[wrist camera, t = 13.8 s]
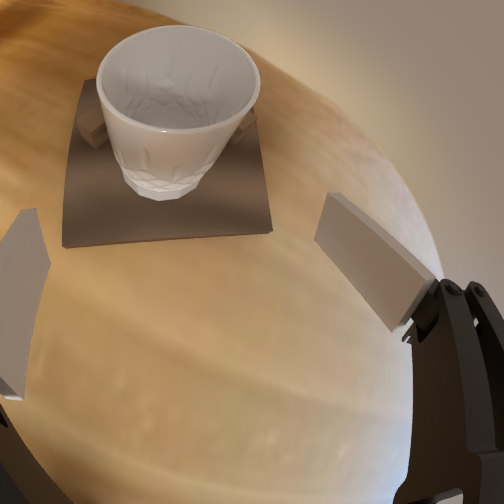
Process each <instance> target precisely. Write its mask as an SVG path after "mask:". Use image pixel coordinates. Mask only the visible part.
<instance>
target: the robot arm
mask: <svg viewBox="0 0 504 504" xmlns="http://www.w3.org/2000/svg"><path fill="white" fill-rule="evenodd" d="M314 240H315V242H316V243H317V244H318V245H319V246H320V247H321V248H322V250H323V251H324V252H325V253H326V254H327V255H328V256H329V258H330V259H331V260H332V261H333V262H334V263H335V264H336V266H337V267H338V268H339V269H340V270H341V271H342V273H343V274H344V275H345V276H346V277H347V278H348V280H349V281H350V282H351V283H352V284H353V286H354V287H355V288H356V289H357V290H358V292H359V293H360V294H361V295H362V296H363V298H364V299H365V300H366V301H367V303H368V304H369V305H370V306H371V308H372V309H373V310H374V311H375V312H376V314H377V315H378V316H379V317H380V319H381V320H382V321H383V323H384V324H385V325H386V326H387V328H388V329H389V330H390V331H391V333H393V332H395V331H397V330H400V329H402V328H403V327H404V326H405V324H406V323H407V322H408V320H409V319H410V317H411V318H412V320H413V321H414V322H413V324H412V325H411V326H410V328H409V329H408V330H407V332H406V333H405V334H404V336H403V337H402V342H404V341H405V339H406V338H407V337H408V336H411V337H410V338H409V339H408V341H407V343H409V344H411V345H412V363H413V420H412V436H411V448H410V457H409V466H408V473H407V477H406V479H405V481H404V482H403V483H402V485H401V486H400V487H399V488H398V490H397V492H396V493H395V496H394V500H393V504H436V503H437V502H439V501H441V500H444V499H447V498H450V497H453V496H456V495H459V494H462V493H463V504H504V320H503V318H502V316H501V314H500V313H499V311H498V309H497V307H496V306H495V304H494V302H493V301H492V299H491V297H490V296H489V294H488V293H487V291H486V290H485V288H484V287H483V286H482V285H481V284H479V283H476V282H473V281H472V282H470V283H469V285H468V286H467V288H466V289H465V290H462V289H461V288H460V287H459V286H458V285H457V284H455V283H454V282H452V281H451V280H448V279H442V280H441V281H440V282H439V281H438V280H437V279H436V277H435V276H434V275H433V274H432V273H431V272H430V271H429V270H428V269H427V268H426V267H425V266H424V265H423V264H422V263H421V262H420V261H419V260H418V259H417V258H416V257H415V256H414V255H413V254H411V253H410V252H409V251H408V250H407V249H406V248H405V247H404V246H403V245H402V244H400V243H399V242H398V241H397V240H396V239H395V238H394V237H393V236H391V235H390V234H389V233H388V232H387V231H386V230H384V229H383V228H382V227H381V226H380V225H379V224H377V223H376V222H375V221H374V220H373V219H371V218H370V217H369V216H368V215H367V214H365V213H364V212H363V211H362V210H360V209H359V208H358V207H357V206H355V205H354V204H353V203H352V202H350V201H349V200H348V199H347V198H345V197H344V196H343V195H341V194H340V193H327V196H326V200H325V203H324V207H323V210H322V214H321V217H320V221H319V224H318V227H317V231H316V234H315V237H314ZM50 264H51V262H50V259H49V256H48V252H47V249H46V246H45V242H44V239H43V235H42V231H41V228H40V224H39V219H38V215H37V211H36V208H33V209H26V210H21V212H20V213H19V214H18V216H17V217H16V219H15V220H14V222H13V224H12V225H11V227H10V228H9V230H8V231H7V233H6V235H5V236H4V238H3V240H2V241H1V243H0V393H1V394H2V395H3V396H4V397H5V398H6V399H13V400H24V391H25V380H26V371H27V363H28V356H29V349H30V343H31V338H32V333H33V328H34V323H35V318H36V314H37V310H38V306H39V302H40V298H41V294H42V290H43V287H44V283H45V280H46V277H47V274H48V270H49V267H50ZM475 318H477V320H478V322H479V323H478V324H477V326H476V327H475V326H474V322H473V321H474V319H475ZM0 504H74V503H73V502H72V501H71V500H70V499H69V498H68V497H67V496H66V495H65V494H64V493H63V492H62V491H61V490H60V488H59V487H58V486H57V485H56V484H55V483H54V482H53V480H52V479H51V478H50V477H49V476H48V474H47V473H46V472H45V471H44V469H43V468H42V467H41V466H40V464H39V463H38V462H37V460H36V459H35V458H34V456H33V455H32V454H31V452H30V451H29V449H28V448H27V446H26V445H25V443H24V442H23V441H22V439H21V437H20V436H19V434H18V433H17V431H16V430H15V428H14V426H13V425H12V423H11V421H10V420H9V418H8V416H7V414H6V413H5V411H4V409H3V407H2V405H1V404H0Z"/></svg>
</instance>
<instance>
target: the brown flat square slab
mask: <svg viewBox="0 0 504 504" xmlns="http://www.w3.org/2000/svg"><path fill="white" fill-rule="evenodd" d="M256 119H257V117H256V116H255V115H254V110H253V106H252V108H251V109H250V110H249V112H248V113H247V115H246V116H245V118H244V119H243V120H242V122H241V123H240V125H239V126H238V128H237V129H236V131H235V132H234V134H233V135H232V137H231V138H230V140H229V141H228V143H227V144H226V146H225V147H224V149H223V150H222V152H221V154H220V155H219V157H218V158H217V159H216V161H215V162H214V163H213V165H212V167H211V168H210V169H209V170H208V171H207V172H206V173H205V175H204V176H203V178H202V179H201V181H200V182H199V184H198V185H197V187H196V188H195V189H194V190H192V191H190V192H189V193H187V194H185V195H184V196H182V197H180V198H179V199H171V200H163V201H156V200H153V199H150V198H147V197H143V196H140V195H138V194H137V193H136V192H135V191H134V190H133V189H132V188H131V187H130V186H129V185H128V184H127V183H126V182H125V180H124V176H123V173H122V170H121V167H120V165H119V164H118V162H117V160H116V157H115V154H114V152H113V149H112V145H111V142H110V140H109V137H108V132H107V128H106V124H105V120H104V116H103V112H102V109H101V104H100V100H99V96H98V91H97V86H96V79H92V80H85V82H84V85H83V89H82V92H81V96H80V100H79V104H78V108H77V112H76V117H75V121H74V126H73V131H72V137H71V142H70V148H69V155H68V162H67V169H66V178H65V188H64V201H63V221H62V246H63V247H64V248H66V249H67V248H78V247H89V246H100V245H112V244H124V243H136V242H149V241H162V240H176V239H190V238H204V237H219V236H235V235H251V234H268V233H270V232H271V231H273V229H272V222H271V215H270V208H269V202H268V195H267V189H266V182H265V176H264V170H263V163H262V157H261V151H260V145H259V139H258V133H257V127H256V122H255V121H256Z"/></svg>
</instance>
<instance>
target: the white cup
mask: <svg viewBox="0 0 504 504" xmlns="http://www.w3.org/2000/svg"><path fill="white" fill-rule="evenodd" d="M260 85H261V81H260V74H259V71H258V68H257V66H256V64H255V62H254V61H253V59H252V58H251V56H250V55H249V54H248V53H247V52H246V51H245V50H244V49H243V48H242V47H241V46H240V45H238V44H237V43H236V42H234V41H233V40H231V39H229V38H228V37H226V36H224V35H222V34H219V33H217V32H214V31H211V30H208V29H204V28H200V27H195V26H186V25H168V26H160V27H154V28H150V29H146V30H143V31H140V32H138V33H135V34H133V35H131V36H129V37H127V38H125V39H124V40H122V41H121V42H119V43H118V44H117V45H116V46H114V47H113V48H112V49H111V50H110V51H109V52H108V53H107V55H106V56H105V57H104V59H103V60H102V62H101V64H100V66H99V69H98V72H97V78H96V86H97V91H98V96H99V100H100V104H101V109H102V112H103V116H104V120H105V124H106V128H107V132H108V137H109V140H110V142H111V145H112V149H113V152H114V154H115V157H116V160H117V162H118V164H119V165H120V167H121V170H122V173H123V176H124V180H125V182H126V183H127V184H128V185H129V186H130V187H131V188H132V189H133V190H134V191H135V192H136V193H137V194H138V195H140V196H143V197H147V198H150V199H153V200H156V201H163V200H171V199H179V198H180V197H182V196H184V195H185V194H187V193H189V192H190V191H192V190H194V189H195V188H196V187H197V185H198V184H199V182H200V181H201V179H202V178H203V176H204V175H205V173H206V172H207V171H208V170H209V169H210V168H211V167H212V165H213V163H214V162H215V161H216V159H217V158H218V157H219V155H220V154H221V152H222V150H223V149H224V147H225V146H226V144H227V143H228V141H229V140H230V138H231V137H232V135H233V134H234V132H235V131H236V129H237V128H238V126H239V125H240V123H241V122H242V120H243V119H244V118H245V116H246V115H247V113H248V112H249V110H250V109H251V108H252V106H253V105H254V103H255V102H256V100H257V98H258V95H259V92H260Z"/></svg>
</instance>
